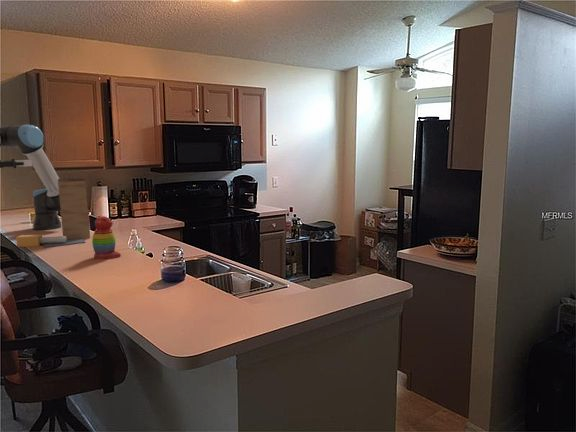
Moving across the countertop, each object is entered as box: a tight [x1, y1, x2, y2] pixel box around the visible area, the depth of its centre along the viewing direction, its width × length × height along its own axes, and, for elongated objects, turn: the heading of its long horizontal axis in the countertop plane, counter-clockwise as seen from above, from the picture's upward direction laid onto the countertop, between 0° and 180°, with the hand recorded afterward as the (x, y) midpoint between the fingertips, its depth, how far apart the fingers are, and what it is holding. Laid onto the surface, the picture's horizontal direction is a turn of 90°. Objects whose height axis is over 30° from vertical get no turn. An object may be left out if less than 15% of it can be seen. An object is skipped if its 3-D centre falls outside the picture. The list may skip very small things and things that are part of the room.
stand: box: [58, 177, 91, 240], centre depth 245 cm, size 8×12×31 cm, turn 121°
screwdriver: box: [16, 234, 67, 248], centre depth 233 cm, size 22×5×5 cm, turn 95°
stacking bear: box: [92, 215, 122, 260], centre depth 205 cm, size 11×10×18 cm
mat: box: [43, 238, 86, 248], centre depth 236 cm, size 10×18×1 cm, turn 121°
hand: (30, 162), depth 231 cm, fingers open, 13 cm apart
